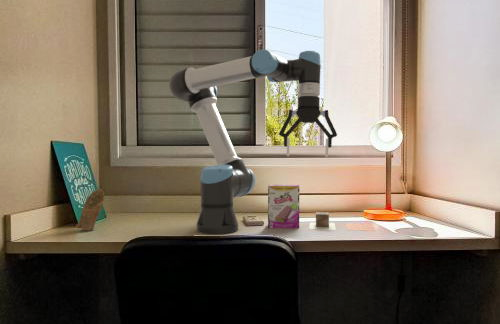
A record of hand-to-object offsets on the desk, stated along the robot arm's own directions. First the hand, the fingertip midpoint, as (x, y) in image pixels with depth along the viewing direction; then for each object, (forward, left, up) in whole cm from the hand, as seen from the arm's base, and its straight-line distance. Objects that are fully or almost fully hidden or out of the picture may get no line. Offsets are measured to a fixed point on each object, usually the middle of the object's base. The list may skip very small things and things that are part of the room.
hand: (307, 156), depth 130 cm
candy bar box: (-8, -2, -27) cm, 28 cm away
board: (+12, +1, -26) cm, 29 cm away
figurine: (-78, -11, -27) cm, 83 cm away
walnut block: (+5, +1, -25) cm, 25 cm away
